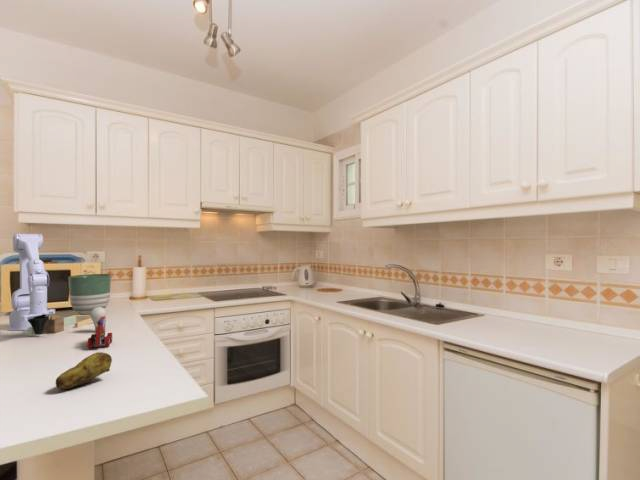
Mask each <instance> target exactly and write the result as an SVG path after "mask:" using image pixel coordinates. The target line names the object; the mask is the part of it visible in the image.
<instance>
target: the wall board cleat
mask: <svg viewBox="0 0 640 480" xmlns="http://www.w3.org/2000/svg"><path fill="white" fill-rule="evenodd" d="M73 324H74V328H76V329H78V328H81V327H84V326H87V325H91V324H94V322H93V320H92V319H91V317H90V315H81V314H73V315H70V316H66V317H64V327H67V326H70V325H73ZM42 334H44V329H43V332H42ZM34 336H36V335H35V333H34V330H33V328H32V327H29V328H28V330H27V337H34Z"/></svg>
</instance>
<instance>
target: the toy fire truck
mask: <svg viewBox="0 0 640 480" xmlns="http://www.w3.org/2000/svg"><path fill="white" fill-rule="evenodd" d="M106 318H107V316H106V317H101V318H100V319H99V321H98V322H97V324H98V326H97V329H96V331H95V330H94V331H95V332H94V333H92V334H91V336H90V337H88V338H87V342H86V343H87V345H86V347H87V349H88V350H91V349H93V348H94V347H102V345H103V346H104V348H109V347H110V344H112V342H113V332H107V335H106V322H107V321H106V320H107V319H106Z"/></svg>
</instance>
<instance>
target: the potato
mask: <svg viewBox="0 0 640 480" xmlns="http://www.w3.org/2000/svg"><path fill="white" fill-rule="evenodd" d="M112 362H113V358H112V356H111V354H109V353H107V352H104V351H103V352H102V351H101V352H100V351H98V352H95V353H92V354H91V355H89V356H87V357H85V358H83V359H82V360H81V361H80V362H78V363H77V364H76V365H74V367H70V368H69V369H67V370H66V371H63V372H62V373H61V374H60V375H59V376H57V377H56V378H55V387H56V388H57V389H59V390H63V389H64V390H68V389H71V388H75V387H78V385H79V386H82V385H86V384H87V383H89V382H91V381H92V380H94V379H95V378H97V377H99V376H101V375H103V374H104V373H107V372H110V371H111V369H110V368H111V365H112ZM74 386H75V387H74Z"/></svg>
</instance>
